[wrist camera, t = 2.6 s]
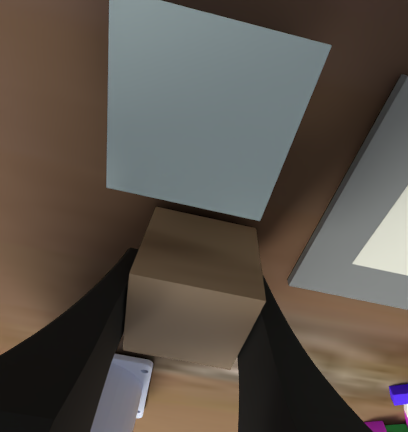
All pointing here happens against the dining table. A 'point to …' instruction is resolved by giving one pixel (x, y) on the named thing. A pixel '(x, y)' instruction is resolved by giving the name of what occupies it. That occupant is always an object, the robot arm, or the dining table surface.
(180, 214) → the walnut block
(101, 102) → the dining table surface
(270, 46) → the pale grey cube
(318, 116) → the dining table surface
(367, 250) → the grey flat square plate
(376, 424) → the building block set
